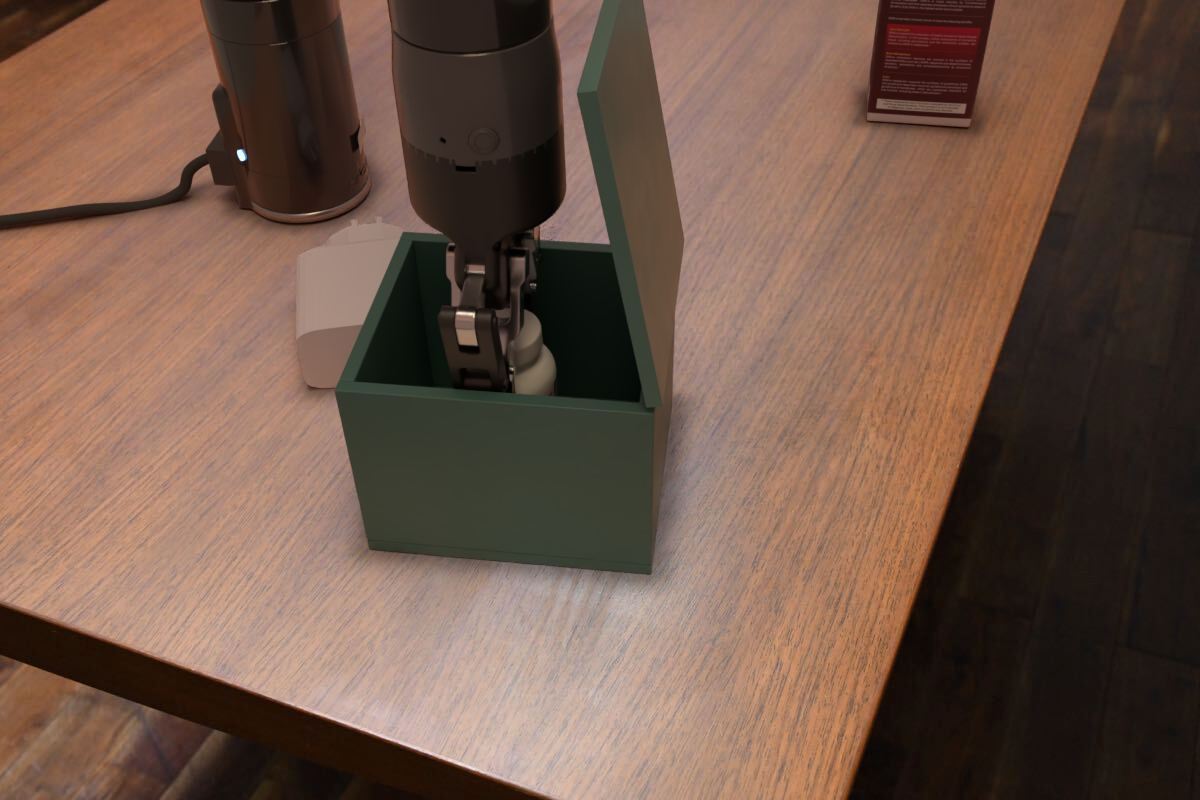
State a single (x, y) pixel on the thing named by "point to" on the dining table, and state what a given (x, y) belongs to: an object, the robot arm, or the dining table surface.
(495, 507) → the chest
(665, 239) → the lid
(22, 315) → the dining table surface
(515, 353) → the pill bottle
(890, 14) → the supplement box
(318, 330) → the charger
